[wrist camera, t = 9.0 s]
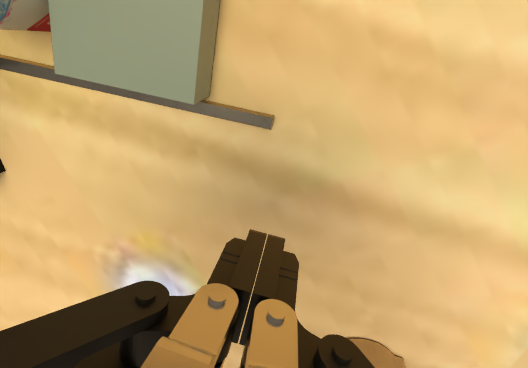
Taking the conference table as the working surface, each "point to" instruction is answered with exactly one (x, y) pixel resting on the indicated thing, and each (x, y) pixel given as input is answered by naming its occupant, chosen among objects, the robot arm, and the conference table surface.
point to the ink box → (25, 15)
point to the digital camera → (1, 167)
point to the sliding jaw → (137, 44)
